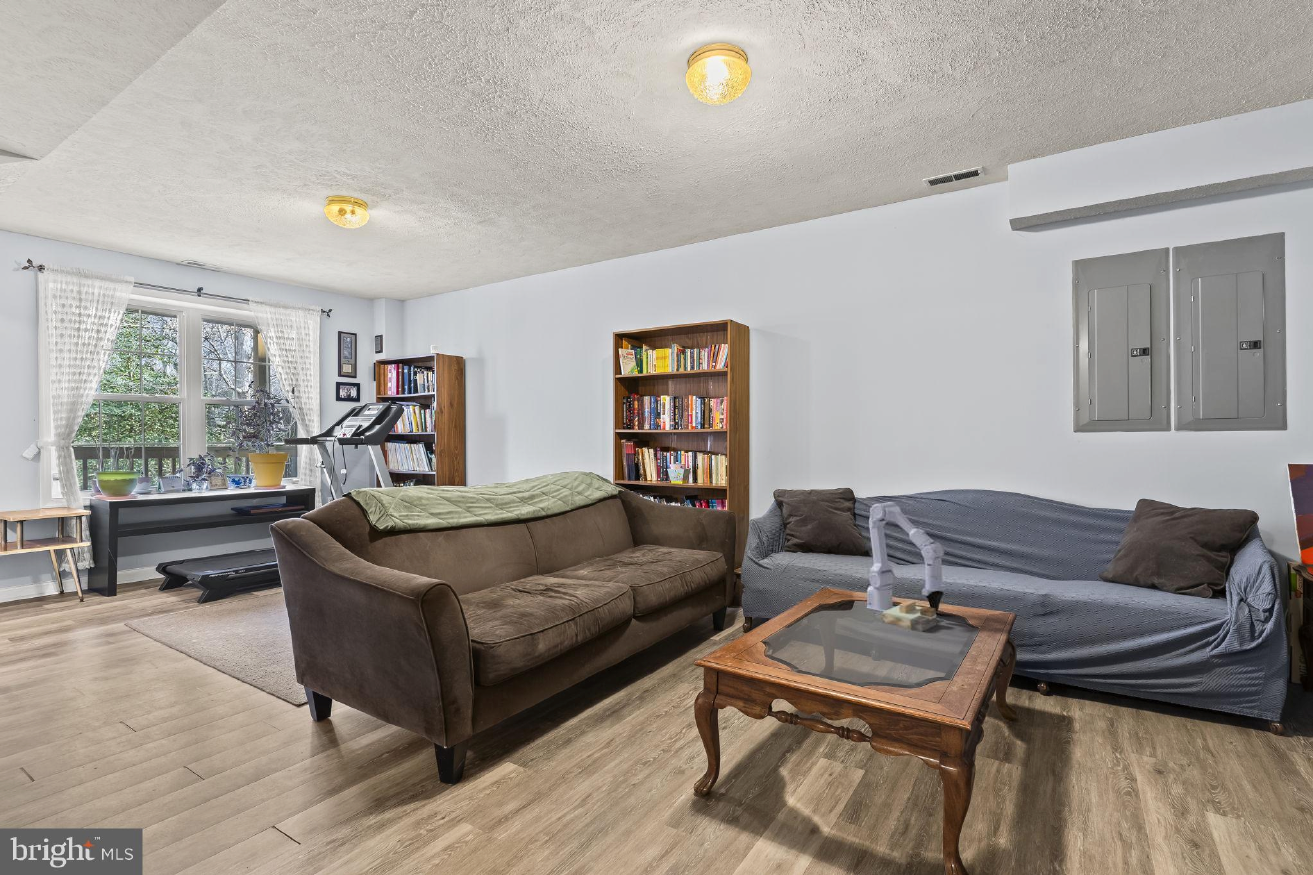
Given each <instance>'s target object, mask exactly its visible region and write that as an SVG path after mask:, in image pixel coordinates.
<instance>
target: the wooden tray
mask: <svg viewBox="0 0 1313 875" xmlns="http://www.w3.org/2000/svg"><path fill="white" fill-rule="evenodd" d="M881 614H882V613H881ZM937 620H938V619H937V616H936V617H935V618H933V619H931V620H930V618H928V617H924V616H917V617H915V618H912V619H911V620H907V619H902V618H898V617H893V616H889V615H884V614H882V623H886V624H891V625H894V626H899V627H902V628H903V627H904V628H907V629H910V630H911V631H917V632H921V633H922V632H925V631H927V630H929V629H931V628H933V627H935V626H937Z"/></svg>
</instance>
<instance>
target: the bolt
mask: <svg viewBox="0 0 1313 875" xmlns="http://www.w3.org/2000/svg"><path fill="white" fill-rule="evenodd" d="M922 607H923V608H921V609H920V615H925V616H929V617H931V616H933V615H936V616H937V614H936V612H937V611H936V609H935V608H930V606H922Z"/></svg>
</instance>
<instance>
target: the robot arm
mask: <svg viewBox="0 0 1313 875" xmlns="http://www.w3.org/2000/svg"><path fill="white" fill-rule="evenodd" d="M869 514H870V515H869V518H868V519H869V520H868V526H869V527H868V528H869V533H870V534H869V536H870V543H871V550H872V551H871V552H872V558H873V565H872V567H871V568H870V569H869V571H870V573H869V574H870V575H869V578H868V580H869V583H870V585H869V586H868V587H867V590H866V600H867V601H866V603H867V606H866V608H867V609H870V610H874V611H878V612H882V611H883V612H884V611H886V610H889V609H891V608H894V607H895V606H894V605H893V587H894V584H895V582H896V581H897V580H896V574H895V572H894V570H893V566H891V565H890V564H889V561H888V553H887V552H888V551H887V543H886V537H885V529H884V525H885V524H886V523H887V522H888V521H891V522H892V521H893V522H894V523H896V524H897V525H898V526H899V527H901V528H902V530H904V531H905V532H906V533H907V534H908V535H909V538H908V539H909V540H910V541H911V542H912V543H914V545H915V546H916V547H917V548H918V550H919V549H920V550H921V555H922V558H923V559H924V565H925V566H924V569H925V570H924V571H925V573H924V574H925V575H924V576H925V586H924V588H922V590H921V595H923V596H925V597H926V599H927V601H928V604H929V607H930V608H935V609H936V612H938V611H939V609H940V604H941V601H942V598H943V596H944V595H945V594H944V591H945V590H946V583H945V582H943V578H942V577H943V576H942V575H943V573H942V572H943V571H942V568H943V567H942V557H943V556H944V555H945V548H944V546H943V545H942V544H941V543H940V542H938V541H935V540H934V539H932V538H931V537H930V536H929V535H928V534H927V533H926V531H925V530H924V529H921V528H916V526H915V525H914V524H913V523H912V522H911V521H910V520H909V518H907V517H906V516H905V514H904V513H902V511H901V507H899V506H898V505H897V504H896V503H895V502H893V501H888V502H883V503H875V504H873V505H872V506H871V507H870V508H869Z"/></svg>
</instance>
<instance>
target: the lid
mask: <svg viewBox="0 0 1313 875" xmlns="http://www.w3.org/2000/svg"><path fill="white" fill-rule="evenodd" d="M893 607H894V608H891V609H889V610H886V611H884V612H882V611H881V612H882V613H881V614H884V615H889V616H893V617H898V618H902V619H907V620H911V619H912V618H915V617H917V616H924V617H928V618H930V620H931V619H933V618H935V617H936V618H937V614H936V615H933V616H931V617H929V616H925V615H920V609H921V608H923V607H924V606H918V605H917V602H916V601H915V600H910V599H909V600H908V601H905V602H902V603H900V604H899V605H897V606H893Z"/></svg>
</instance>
